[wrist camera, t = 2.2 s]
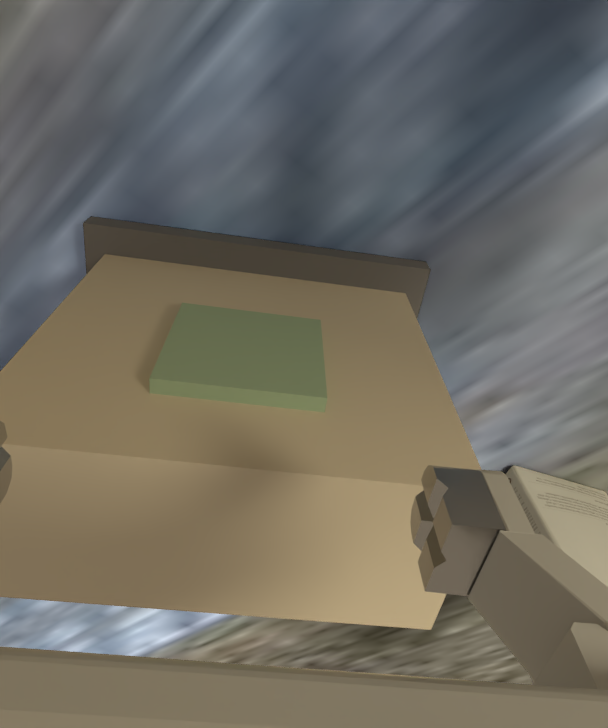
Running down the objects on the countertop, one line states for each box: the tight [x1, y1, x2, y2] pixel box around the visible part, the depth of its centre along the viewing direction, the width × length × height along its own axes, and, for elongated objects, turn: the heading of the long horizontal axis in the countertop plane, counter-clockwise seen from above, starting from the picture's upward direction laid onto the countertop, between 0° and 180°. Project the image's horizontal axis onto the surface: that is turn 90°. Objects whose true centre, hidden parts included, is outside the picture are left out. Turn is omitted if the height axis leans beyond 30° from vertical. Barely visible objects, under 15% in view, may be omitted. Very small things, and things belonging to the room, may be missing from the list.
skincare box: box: [505, 465, 608, 684], centre depth 33 cm, size 8×7×16 cm
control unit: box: [0, 216, 481, 630], centre depth 24 cm, size 10×18×16 cm, turn 82°
